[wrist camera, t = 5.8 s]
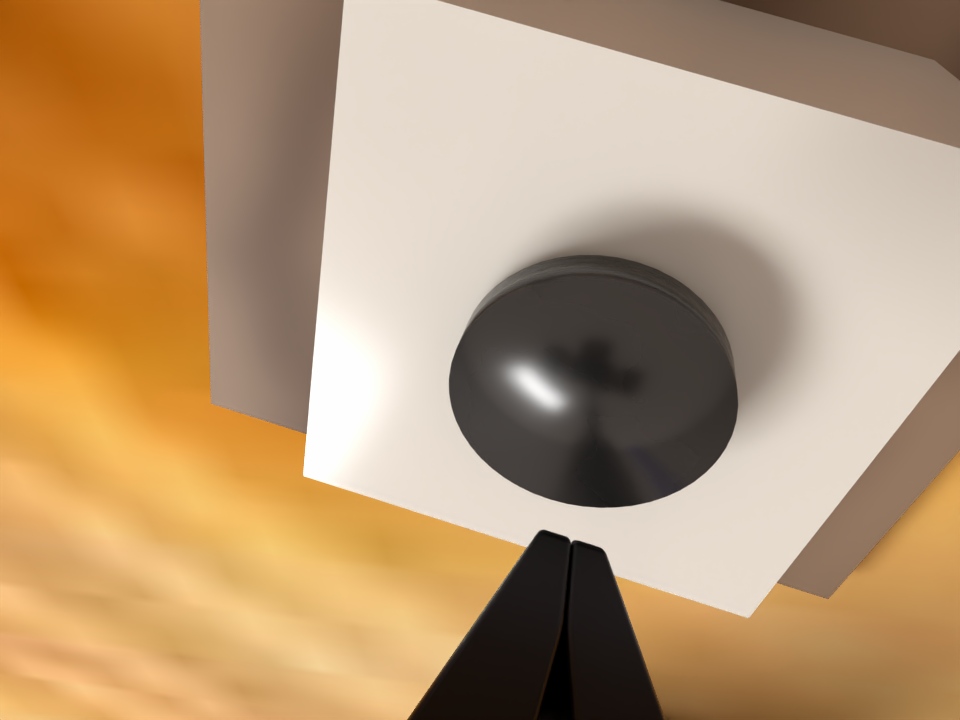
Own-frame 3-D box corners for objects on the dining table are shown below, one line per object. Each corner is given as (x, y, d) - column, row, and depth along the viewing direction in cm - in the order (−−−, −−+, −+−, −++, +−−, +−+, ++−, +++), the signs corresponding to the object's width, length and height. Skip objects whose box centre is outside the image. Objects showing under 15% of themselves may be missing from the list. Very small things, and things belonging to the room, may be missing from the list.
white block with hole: (934, 60, 15) (1089, 185, 9) (728, 416, 21) (748, 618, 15) (463, -71, 15) (346, -26, 10) (398, 314, 21) (303, 475, 16)
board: (1509, -237, 11) (1572, -244, 11) (823, 574, 25) (828, 598, 24) (214, -559, 12) (183, -588, 12) (225, 386, 26) (210, 403, 25)
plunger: (748, 155, 16) (793, 335, 10) (672, 321, 19) (672, 538, 13) (550, 98, 16) (480, 241, 10) (503, 270, 19) (427, 460, 13)
